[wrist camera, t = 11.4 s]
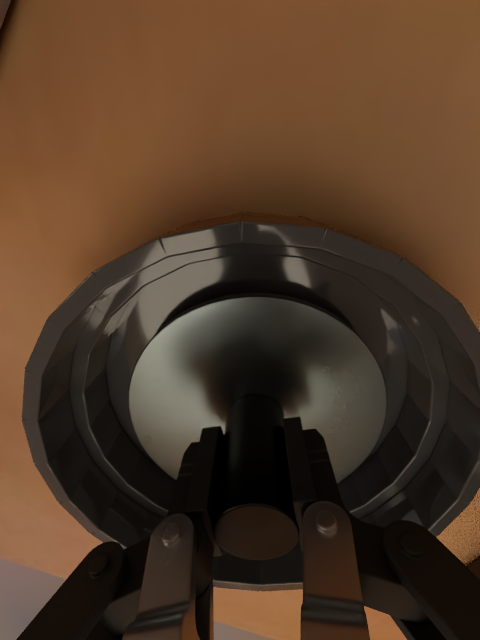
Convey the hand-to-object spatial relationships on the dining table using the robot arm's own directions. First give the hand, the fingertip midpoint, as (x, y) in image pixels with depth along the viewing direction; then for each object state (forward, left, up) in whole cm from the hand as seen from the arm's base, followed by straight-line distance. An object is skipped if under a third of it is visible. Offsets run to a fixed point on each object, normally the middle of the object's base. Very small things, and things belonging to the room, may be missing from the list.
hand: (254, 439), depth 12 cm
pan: (0, 0, -3) cm, 3 cm away
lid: (0, 0, -2) cm, 2 cm away
